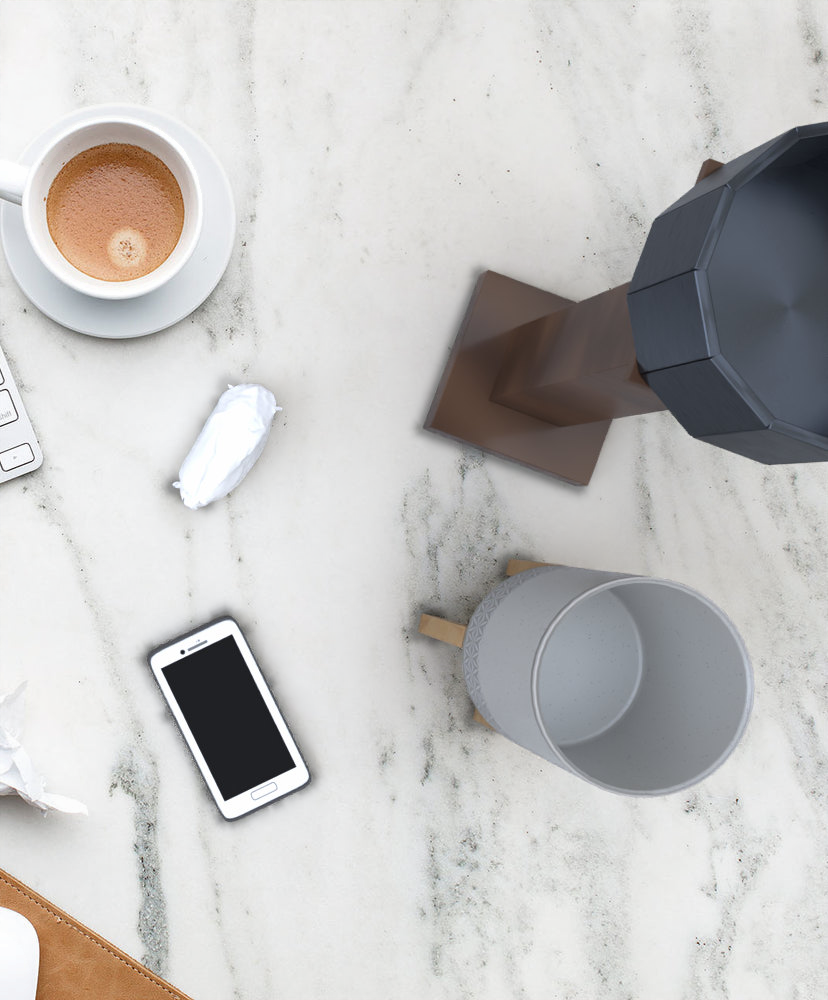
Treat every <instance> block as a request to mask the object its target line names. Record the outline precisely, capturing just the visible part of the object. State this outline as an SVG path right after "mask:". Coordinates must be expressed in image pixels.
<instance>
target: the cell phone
mask: <svg viewBox="0 0 828 1000" xmlns="http://www.w3.org/2000/svg"><path fill="white" fill-rule="evenodd" d="M146 658H147V659H146V662H147V664H148V667H149V670H150V672H151V674H152V676H153V678H154V680H155V683H156V685H157V687H158V689H159V691H160V693H161V696H162V697H163V699H164V701H165V703H166V705H167V708H168V709H169V712H170V714H171V716H172V718H173V721H174V722H175V724H176V726H177V728H178V730H179V733H180V735H181V736H182V739H183V741H184V743H185V745H186V747H187V749H188V751H189V753H190V755H191V758H192V760H193V761H194V764H195V766H196V767H197V770H198V771H199V774H200V775H201V778H202V780H203V782H204V784H205V787H206V788H207V790H208V792H209V795H210V797H211V798H212V801H213V803H214V805H215V807H216V809H217V811H218V813H219V814H220V816H221V818H222V819H223V820H224V821H225V822H227V823H234V822H237V821H239V820H241V819H244V818H247V817H248V816H251V815H252V814H254V813H256V812H259V811H261V810H263V809H265V808H267V807H269V806H271V805H273V804H275V803H277V802H279V801H281V800H283V799H285V798H287V797H289V796H292V795H294V794H296V793H297V792H300V791H302V790H304V789H305V788H306V787H308V786H309V785H310V784H311V782H312V774H311V771H310V768H309V767H308V764H307V762H306V760H305V758H304V756H303V753H302V752H301V750H300V747H299V745H298V744H297V743H298V742H297V741H296V739H295V737H294V735H293V733H292V731H291V729H290V726H289V724H288V723H287V721H286V720H287V719H286V718H285V716H284V714H283V712H282V710H281V707H280V706H279V703H278V702H277V700H276V697H275V696H274V693H273V692H272V689H271V687H270V685H269V683H268V681H267V679H266V676H265V675H264V672H263V671H262V669H261V666H260V665H259V662H258V660H257V659H256V656H255V654H254V652H253V650H252V648H251V645H250V644H249V642H248V640H247V638H246V635H245V633H244V631H243V630H242V628H241V626H240V624H239V622H238V621H237V620H236V619H235V618H234V617H233V616H231V615H227V614H226V615H222V616H219V617H217V618H214V619H212V620H211V621H208V622H206V623H204V624H202V625H200V626H198V627H196V628H193V629H192V630H189V631H188V632H185V633H184V634H181V635H180V636H177V637H175V638H173V639H171V640H169V641H167V642H165V643H163V644H161V645H158V646H157V647H154V649H152V650H151V651H149V653H148V654H147V657H146Z"/></svg>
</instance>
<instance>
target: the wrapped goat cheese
mask: <svg viewBox="0 0 828 1000" xmlns="http://www.w3.org/2000/svg"><path fill="white" fill-rule="evenodd" d="M227 387H228V389H227V390H225V391H224V392H222V394H221V395H220V397H219V400H218V401H217V404H216V405H215V406H214V409H212V411H211V413H210V415H209V417H208V418H207V420H206V422H205V424H204V426H203V428H202V430H201V431H200V433H199V435H198V436H197V439H196V440H195V442H194V443H193V446H192V448H191V449H190V450H189V452H188V454H187V456H186V458H185V459H184V461H183V462H182V464H181V466H180V468H179V473H178V479H179V481H178V480H177V481H173V483H172V487H173V488H175V489H179V494H180V498H181V501H182V502H183V505H184V506H186V507H188V509H190V510H193V511H198V510H199V508H203V507H206V506H207V505H208V504H211V503H213V502H215V501H218V500H220V499H222V498H224V497H226V496H227V495H229V493H231V492H232V491H233V490H234V489H235V488H236V487H238V486H239V485H240V483H241V482H242V480H243V479H244V478H245V477H246V476H247V475H248V473H249V471H250V470H251V469H252V468H253V466H254V465H255V464H256V462H257V461H258V459H259V458H260V456H261V455H262V452H263V450H264V449H265V446H266V443H267V441H268V439H269V436H270V433H271V427H272V421H273V419H274V416H275V414H276V413H277V412H280V411H283V407H281V406H278V405H277V399H276V397H275V396H276V395H275V394H274V393H272V391H271V390H269V389H268V388H266V387H264V385H261V384H259V383H250V382H246V383H239V384H236V385H235V386H233V385H232V384H230V383H228V384H227Z"/></svg>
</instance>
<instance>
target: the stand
mask: <svg viewBox="0 0 828 1000" xmlns="http://www.w3.org/2000/svg"><path fill="white" fill-rule="evenodd" d="M724 164H725V162H722V161H718V160H716V159H714V158H710V157H709V158H708V159H706V160H704V161H703V162H702V164H701V167H700V170H699V172H698V175H697V177H696V181H695V182H694V185H693V187H694V186H695V185H696V184H697V183H699V182H700V181H701V180H702V179H704V178H705V177H706V176H707V175H708V174H710V173H711V172H712V171H713V170H714V169H716V168H718V167H720V166H722V165H724ZM630 283H631V280H629V281H626V282H625V283H622V284H620V285H618V286H615V287H612V288H610V289H607V290H605V291H603V292H600V293H598V294H595V295H593V296H591V297H590V296H589V297H588V298H585V299H583V300H580V301H578V302H577V301H575V300H571V299H568V298H567V297H563V296H561V295H558V294H555V293H553V292H550V291H548V290H545V289H542V288H539V287H537V286H534V285H531V284H529V283H526V282H523V281H520V280H518V279H515V278H513V277H509V276H508V275H505V274H502V273H499V272H496V271H494V270H491V269H487V270H485V271H483V272H482V273H480V274H479V276H478V278H477V282H476V284H475V287H474V290H473V292H472V295H471V298H470V300H469V303H468V306H467V308H466V311H465V314H464V316H463V319H462V321H461V325H460V326H459V330H458V333H457V335H456V337H455V340H454V342H453V345H452V349H451V351H450V354H449V356H448V360H447V362H446V365H445V368H444V369H443V373H442V376H441V378H440V381H439V383H438V386H437V389H436V392H435V395H434V397H433V400H432V402H431V406H430V408H429V411H428V413H427V416H426V419H425V422H424V424H423V426H422V429H423V430H425V431H427V432H430V433H433V434H436V435H438V436H441V437H444V438H447V439H449V440H452V441H455V442H458V443H460V444H463V445H466V446H468V447H471V448H473V449H476V450H479V451H482V452H483V453H487V454H490V455H491V456H492V455H493V456H495V457H497V458H500V459H503V460H506V461H509V462H511V463H514V464H516V465H519V466H522V467H525V468H527V469H530V470H532V471H535V472H538V473H541V474H543V475H546V476H548V477H551V478H554V479H557V480H560V481H561V482H564V483H567V484H570V485H573V486H575V487H588V486H589V484H590V481H591V479H592V476H593V475H594V474H593V473H594V471H595V468H596V465H597V463H598V460H599V457H600V454H601V452H602V449H603V446H604V444H605V441H606V439H607V435H608V433H609V431H610V427H611V425H612V422H613V420H615V419H622V418H627V417H634V416H640V415H646V414H652V413H659V412H665V411H669V410H668V409H667V407H666V406H665V405H664V404H663V403H662V401H661V400H660V399H659V398H658V397H657V395H656V394H655V393H654V392H653V391H652V389H651V388H650V387H649V386H648V385H647V383H646V382H645V381H644V380H643V379H642V377H641V376H640V375H641V374H640V373H639V369H638V363H637V358H636V352H635V346H634V340H633V334H632V329H631V323H630V317H629V311H628V305H627V299H626V296H628V295H627V291H628V288H629V285H630Z"/></svg>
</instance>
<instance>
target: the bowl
mask: <svg viewBox="0 0 828 1000" xmlns="http://www.w3.org/2000/svg"><path fill="white" fill-rule="evenodd" d="M694 185H695V184H694ZM694 185H693V187H691V188H690V189H689V190H688V191H687V192H685V193H684V194H683V195H682V196H681V197H679V198H678V199H677V200H675V201H674V202H673V203H671V205H670V206H668V207H667V208H666V209H665V210H663V211H662V212H661V213H659V215H657V216H656V217H655V218H654V220H653V221H652V223H651V226H650V229H649V231H648V234H647V237H646V240H645V242H644V245H643V248H642V251H641V253H640V256H639V259H638V260H637V263H636V265H635V266H636V267H635V269H634V272H633V274H632V278H631V279H630V281H631V283H630V285H629V288H628V291H627V295H628V296H626V299H627V305H628V311H629V317H630V323H631V329H632V334H633V340H634V346H635V352H636V358H637V363H638V369H639V373H640V374H641V375H640V376H641V377H642V379H643V380H644V381H645V382H646V383H647V385H648V386H649V387H650V388H651V389H652V391H653V392H654V393H655V394H656V395H657V397H658V398H659V399H660V400H661V401H662V403H663V404H664V405H665V406H666V407H667V409H668V410H667V411H668V412H669V413H671V415H672V416H673V417H674V419H675V420H676V421H677V422H678V423H679V425H680V426H681V427H682V428H683V429H684V431H685V432H686V433H687V435H689V436H690V437H692V438H693V439H695V440H698V441H701V442H703V443H706V444H709V445H711V446H714V447H717V448H719V449H722V450H725V451H728V452H730V453H733V454H735V455H738V456H740V457H743V458H746V459H749V460H752V461H754V462H757V463H760V464H762V465H767V466H778V465H795V464H812V463H827V462H828V121H822V122H816V123H809V124H804V125H797V126H795V127H792V128H790V129H788V130H786V131H784V132H782V133H780V134H779V135H777V136H775V137H773V138H771V139H769V140H768V141H765V142H764V143H761V144H760V145H758V146H756V147H754V148H752V149H750V150H748V151H746V152H745V153H743V154H741V155H739V156H737V157H735V158H733V159H731V160H730V161H728V162H725V163H724V165H722V166H720V167H718V168H716V169H714V170H713V171H712V172H711V173H710V174H708V175H707V176H706V177H705V178H704V179H702V180H701V181H700V182H699V183H697V184H696V185H695V186H694Z"/></svg>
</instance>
